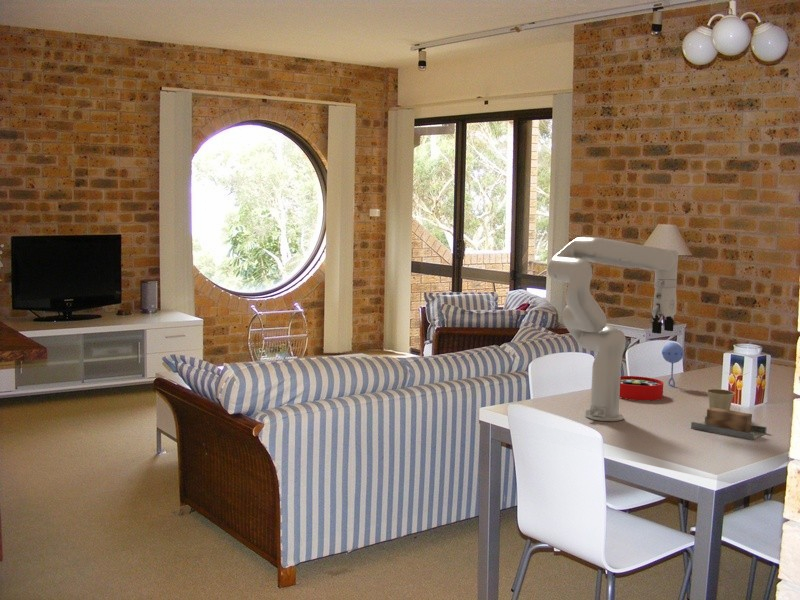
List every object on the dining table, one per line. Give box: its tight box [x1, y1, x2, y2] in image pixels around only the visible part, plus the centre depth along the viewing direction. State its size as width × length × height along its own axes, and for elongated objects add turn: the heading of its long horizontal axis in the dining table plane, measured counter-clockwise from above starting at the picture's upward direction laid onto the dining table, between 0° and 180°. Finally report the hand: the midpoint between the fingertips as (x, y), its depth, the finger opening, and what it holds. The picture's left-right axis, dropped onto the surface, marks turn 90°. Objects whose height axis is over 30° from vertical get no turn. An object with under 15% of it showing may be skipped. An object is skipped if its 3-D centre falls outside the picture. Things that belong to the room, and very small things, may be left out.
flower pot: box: [706, 388, 736, 410], centre depth 308 cm, size 9×9×9 cm
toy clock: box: [620, 375, 664, 401], centre depth 340 cm, size 20×6×20 cm
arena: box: [690, 415, 767, 441], centre depth 287 cm, size 12×20×2 cm, turn 49°
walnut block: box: [706, 407, 753, 432], centre depth 287 cm, size 13×4×6 cm, turn 48°
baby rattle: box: [661, 341, 685, 387], centre depth 359 cm, size 9×9×18 cm
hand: (662, 331), depth 312 cm, fingers open, 9 cm apart
